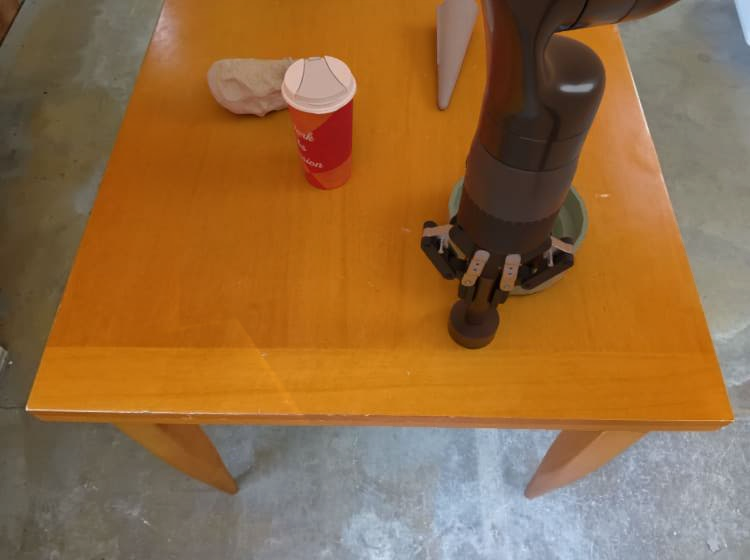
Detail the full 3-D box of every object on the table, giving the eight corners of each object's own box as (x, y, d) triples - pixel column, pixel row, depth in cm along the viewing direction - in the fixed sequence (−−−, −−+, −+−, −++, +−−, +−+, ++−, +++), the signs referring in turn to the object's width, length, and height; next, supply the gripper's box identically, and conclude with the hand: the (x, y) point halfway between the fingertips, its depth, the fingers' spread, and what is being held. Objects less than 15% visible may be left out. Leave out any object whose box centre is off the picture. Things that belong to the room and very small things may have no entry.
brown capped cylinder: (505, 332, 62) (529, 275, 52) (469, 358, 60) (486, 304, 50) (473, 298, 64) (490, 238, 54) (437, 323, 62) (448, 265, 53)
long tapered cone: (484, 90, 76) (479, -7, 84) (436, 94, 77) (435, -3, 85) (483, 120, 81) (478, 26, 90) (437, 123, 82) (437, 29, 90)
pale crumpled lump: (199, 121, 82) (226, 114, 69) (192, 67, 80) (219, 49, 67) (298, 117, 89) (340, 110, 76) (294, 68, 87) (336, 52, 74)
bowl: (599, 253, 67) (617, 221, 62) (504, 321, 62) (516, 293, 57) (510, 175, 74) (519, 141, 68) (417, 231, 69) (421, 199, 64)
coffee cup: (293, 153, 76) (276, 56, 63) (354, 145, 77) (349, 47, 64) (300, 201, 71) (283, 107, 59) (365, 192, 72) (362, 97, 59)
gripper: (416, 208, 40) (406, 322, 55) (615, 230, 39) (551, 341, 54) (427, 133, 44) (415, 258, 59) (608, 152, 43) (550, 275, 58)
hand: (480, 297), depth 56 cm, fingers closed on brown capped cylinder
